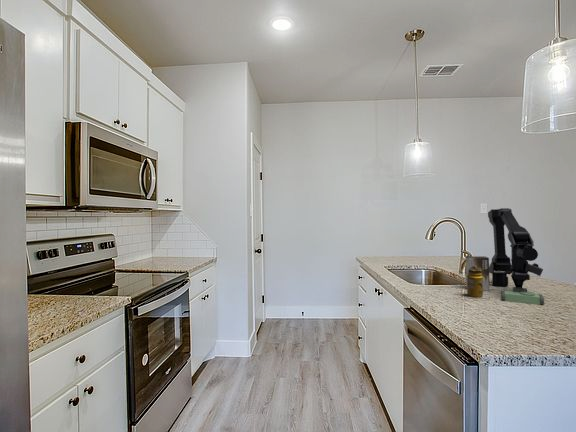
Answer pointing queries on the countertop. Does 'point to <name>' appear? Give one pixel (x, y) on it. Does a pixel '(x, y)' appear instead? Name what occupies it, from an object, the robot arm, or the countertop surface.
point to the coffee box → (479, 268)
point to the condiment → (474, 284)
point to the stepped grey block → (519, 289)
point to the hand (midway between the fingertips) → (519, 292)
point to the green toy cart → (522, 297)
